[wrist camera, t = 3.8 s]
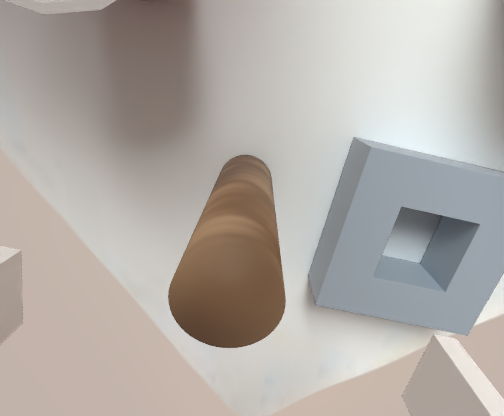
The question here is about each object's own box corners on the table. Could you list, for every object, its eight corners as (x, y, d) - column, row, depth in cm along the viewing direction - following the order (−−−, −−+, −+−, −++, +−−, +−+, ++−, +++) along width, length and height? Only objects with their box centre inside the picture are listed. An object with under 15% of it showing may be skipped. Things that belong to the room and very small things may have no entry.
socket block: (308, 275, 28) (315, 304, 24) (353, 137, 24) (371, 147, 20) (440, 302, 29) (467, 335, 25) (507, 172, 25) (552, 188, 21)
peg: (215, 199, 26) (161, 336, 12) (224, 149, 24) (177, 238, 10) (264, 209, 26) (269, 357, 12) (277, 161, 25) (299, 264, 11)
